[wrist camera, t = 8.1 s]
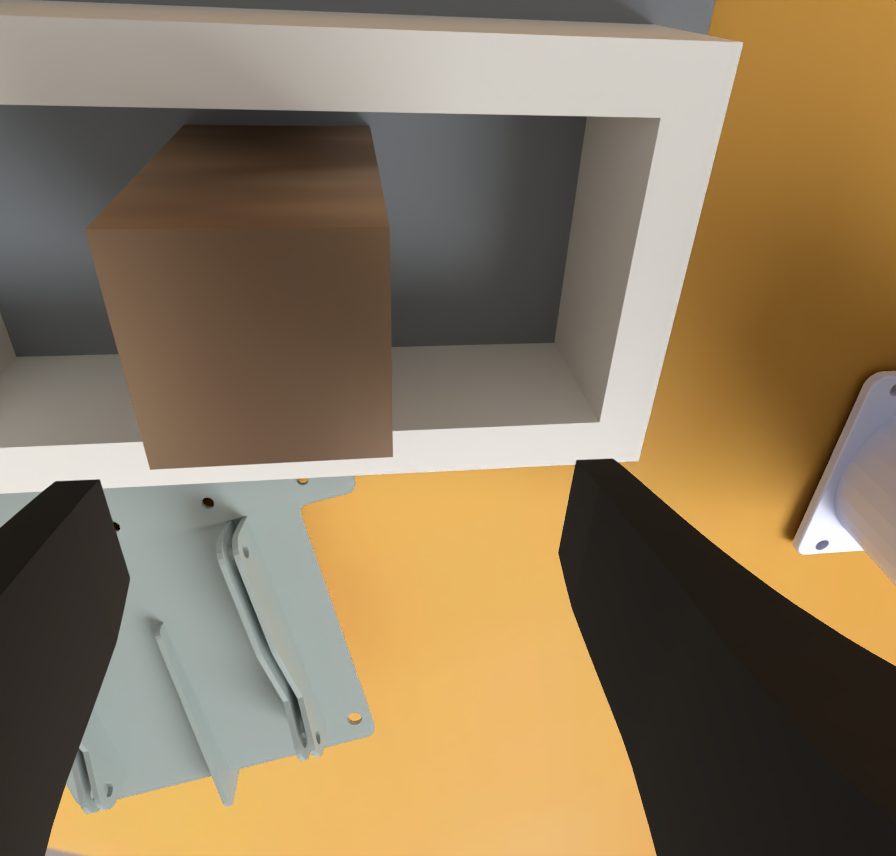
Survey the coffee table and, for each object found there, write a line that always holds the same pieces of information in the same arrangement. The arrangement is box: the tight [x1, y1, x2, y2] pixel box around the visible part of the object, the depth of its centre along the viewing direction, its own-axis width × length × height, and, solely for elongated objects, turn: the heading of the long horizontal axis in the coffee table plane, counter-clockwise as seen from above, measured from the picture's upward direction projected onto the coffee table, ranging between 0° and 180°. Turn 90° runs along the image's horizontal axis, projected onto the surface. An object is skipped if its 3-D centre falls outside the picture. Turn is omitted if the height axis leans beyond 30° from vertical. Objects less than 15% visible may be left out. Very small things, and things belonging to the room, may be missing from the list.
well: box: [0, 0, 744, 494], centre depth 15 cm, size 19×15×5 cm
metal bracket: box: [0, 476, 374, 814], centre depth 23 cm, size 14×6×15 cm
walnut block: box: [85, 125, 393, 470], centre depth 13 cm, size 4×4×7 cm
